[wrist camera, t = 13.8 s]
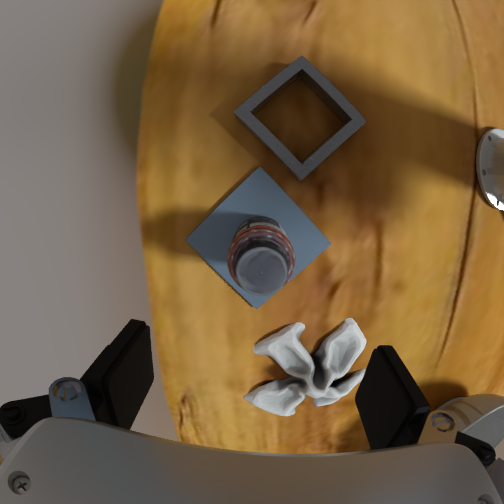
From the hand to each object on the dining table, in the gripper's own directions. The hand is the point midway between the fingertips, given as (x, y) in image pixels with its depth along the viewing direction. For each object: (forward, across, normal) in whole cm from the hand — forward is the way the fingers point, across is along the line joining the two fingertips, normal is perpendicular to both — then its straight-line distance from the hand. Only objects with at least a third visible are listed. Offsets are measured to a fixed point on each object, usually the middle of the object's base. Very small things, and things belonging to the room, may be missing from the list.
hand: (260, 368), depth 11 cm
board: (+23, 0, 0) cm, 23 cm away
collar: (+23, -2, -14) cm, 27 cm away
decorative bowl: (+24, -44, +33) cm, 60 cm away
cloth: (+24, -10, +18) cm, 32 cm away
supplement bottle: (+23, 0, 0) cm, 23 cm away
